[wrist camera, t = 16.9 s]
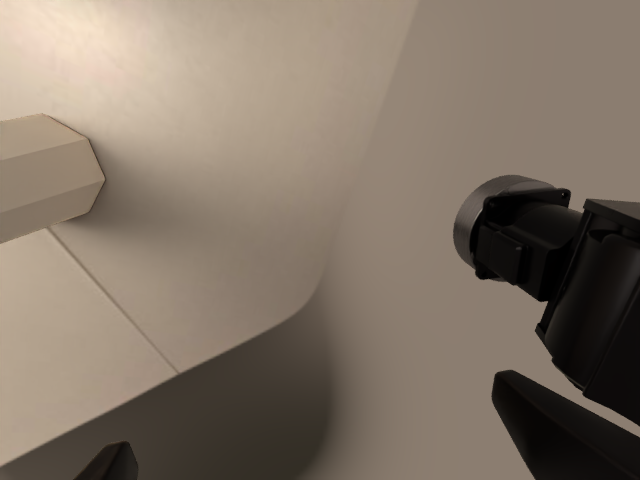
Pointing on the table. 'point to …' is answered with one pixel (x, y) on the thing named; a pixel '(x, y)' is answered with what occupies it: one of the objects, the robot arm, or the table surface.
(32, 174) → the salt shaker
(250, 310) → the table surface
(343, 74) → the table surface
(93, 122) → the table surface
